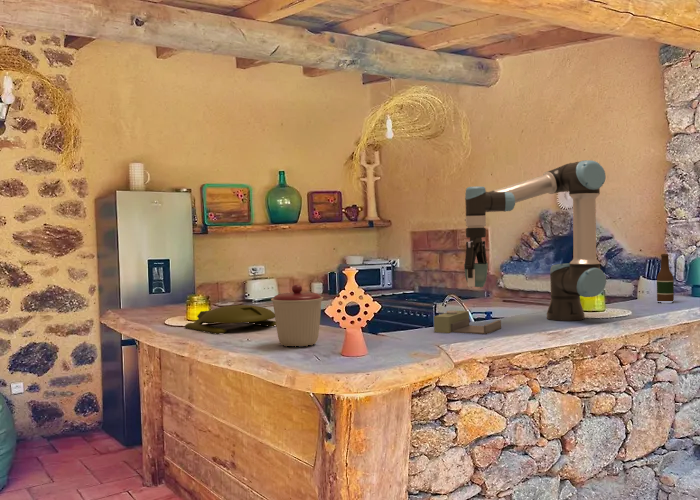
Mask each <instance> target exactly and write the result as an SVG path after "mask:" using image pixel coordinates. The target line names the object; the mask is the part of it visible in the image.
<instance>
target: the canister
mask: <svg viewBox="0 0 700 500" xmlns="http://www.w3.org/2000/svg"><path fill="white" fill-rule="evenodd" d="M302 290H303V286H302V285H300V284H294V285H293V286H292V287H291V291H292V292H285V293H284V292H283V293H279V294H276V295H275V296H273V297H272V298H271V299H270V300H271V301H272V305H273V310H274V311H273V312H274V314H275V318H274V319H275V320H274V321H276V327H275V328H276V332H277V338H278V342H279V343H280V344H281V345H282V346H283V345H284V347H287V346H295V347H294V348H297V347H296V346H306V347H309V346H308V345H311V346H313V344H314V345H315V344H316V343H317V342H318V339H319V334H320V333H319V331H320V324H321V312H322V301H323V300H324V296H321V295H320V294H318V293H315V292H305V291H302Z"/></svg>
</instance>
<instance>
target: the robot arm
mask: <svg viewBox="0 0 700 500" xmlns="http://www.w3.org/2000/svg"><path fill="white" fill-rule="evenodd" d="M605 182H606V171H605V168H604V167H603V166H602V165H601V164H600V162H597V161H596V160H591V159H590V160H588V159H587V160H580V161H575V162H569V163H566V164H563V165H561V166H558V167H555V168H553V169H551V170H548V171H545V172H543V174H542V175H540V176H537V177H532V178H529V179H527V180H523V181H519V182H516V183H513V184H509V185H506V186H504V187H501V188H500V187H499V188H496V189H493V190H491V191H487V190H486V187H485V186H468V187H467V188H466V189H465V193H464V194H465V196H464V200H465V203H464V204H465V219H464V221H465V226H466V228H465V237H466V238H467V239H468V238H469V241H466V243H465V247H466V248H465V249H466V250H465V258H464V259H465V260H464V264H465V269H467V281H466V283H467V287H468V288H476V287H475V269H474V264H475V263H488V261H487V252H486V251H487V249H486V241H485V240H482V238H486V236H487V228H486V226H487V220H486V219H487V217H486V216H487V215H486V213H497V212H512V211H513V210H514V208H515V206H516V203H520V202H522V201H526V200H529V199H533V198H537V197H539V196H543V195H546V194H549V195H554V194H557V193H558V194H559V193H565V192H566V193H567V192H568V196H569V197H570V198H571V199H572V200H573V201H572V207H573V208H572V209H573V210H572V211H573V213H572V215H573V217H572V222H573V223H572V225H573V226H572V227H573V231H572V232H573V234H572V235H573V236H572V237H573V240H572V241H573V245H572V246H573V247H572V249H573V258H572V260H570V262H569V263H559V264H553V265H551V267H550V270H549V271H550V273H549V278H550V302H549V305H548V309H547V311H546V319H548V320H551V321H552V320H553V321H560V322H561V321H563V322H565V321H569V322H570V321H571V322H572V321H574V322H575V321H582V319H583V320H584V319H585V312H584V308H583V306H582V302H581V299H580V298H581V297H583V298H593V297H594V298H595V297H596V296H598V295H600V294H601V293H602V292H603V291H604V289H605V288H606V284H607V277H606V273H605V272H604V271H603V270H602V269H601V263H600V261H599V260H598V259H597V217H596V216H597V215H596V212H597V209H596V207H597V201H596V200H597V198H598V197H599V196H600V193H601V192H600V189H601V188H602V187H603V185H604V184H605ZM465 269H464V270H465ZM484 285H486V283H485V284H484Z"/></svg>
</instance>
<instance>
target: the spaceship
mask: <svg viewBox="0 0 700 500" xmlns="http://www.w3.org/2000/svg"><path fill="white" fill-rule="evenodd" d="M196 317H197V318H198V319H196V320H195V321H194V322H189V323H186V324H185V325H184V328H185V329H187V328H188V329H189V330H193V329H194V330H193V331H198V330H199V331H198V332H203V331H205V332H204V333H208V332H210V334H213V333H216V334H215V335H220V334H219V333H224V334H226V333H227V329H225V328H223V327H218V326H212V325H210V324H238V323H239V324H240V323H241V324H242V323H243V322H249V323H255V324H261V325H268V326H274V325H276V320H272V319H275V313H274V311H273V310H270V309H269V308H266V307H262V306H259V305H253V304H252V305H250V304H249V305H247V304H238V305H236V304H234V305H233V304H232V305H226V306H221V307H216V308H214V309H211V310H204V311H202V310H201V311H200V312H199V313H198V314H197V316H196ZM249 323H248V324H249ZM207 324H208V325H207ZM243 324H244V323H243ZM255 324H254V325H255ZM261 325H260V326H261ZM268 326H267V327H268ZM225 332H226V333H225Z"/></svg>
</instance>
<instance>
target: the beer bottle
mask: <svg viewBox="0 0 700 500" xmlns="http://www.w3.org/2000/svg"><path fill="white" fill-rule="evenodd" d="M660 257H661V258H660V271H659V272H658V273H657V277H656V301H673V300H674V299H675V298H674V297H675V296H674V295H675V293H674V290H675V289H674V287H675V286H674V283H675V282H674V275H673V272H671V270H670V264H669V263H670V261H669V260H670V259H669V257H670V255H669V254H668V253H661V254H660Z"/></svg>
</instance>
